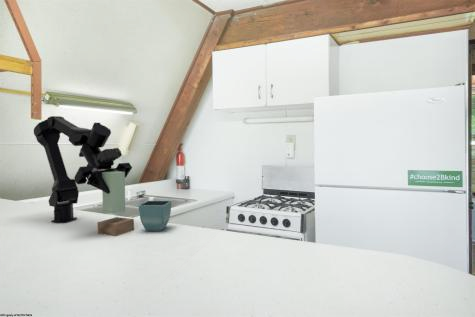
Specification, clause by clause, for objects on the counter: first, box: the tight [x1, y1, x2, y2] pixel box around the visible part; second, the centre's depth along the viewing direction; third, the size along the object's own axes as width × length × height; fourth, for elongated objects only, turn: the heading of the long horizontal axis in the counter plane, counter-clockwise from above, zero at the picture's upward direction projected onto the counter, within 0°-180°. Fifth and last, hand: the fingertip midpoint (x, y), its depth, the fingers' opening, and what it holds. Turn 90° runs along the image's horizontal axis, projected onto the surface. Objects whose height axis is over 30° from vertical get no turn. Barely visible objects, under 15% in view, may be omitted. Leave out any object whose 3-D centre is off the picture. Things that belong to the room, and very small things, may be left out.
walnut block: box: [96, 216, 135, 237], centre depth 116 cm, size 8×8×4 cm
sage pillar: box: [101, 171, 126, 215], centre depth 115 cm, size 5×5×13 cm
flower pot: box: [137, 200, 173, 232], centre depth 117 cm, size 9×9×9 cm
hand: (116, 191), depth 114 cm, fingers closed on sage pillar, 5 cm apart
